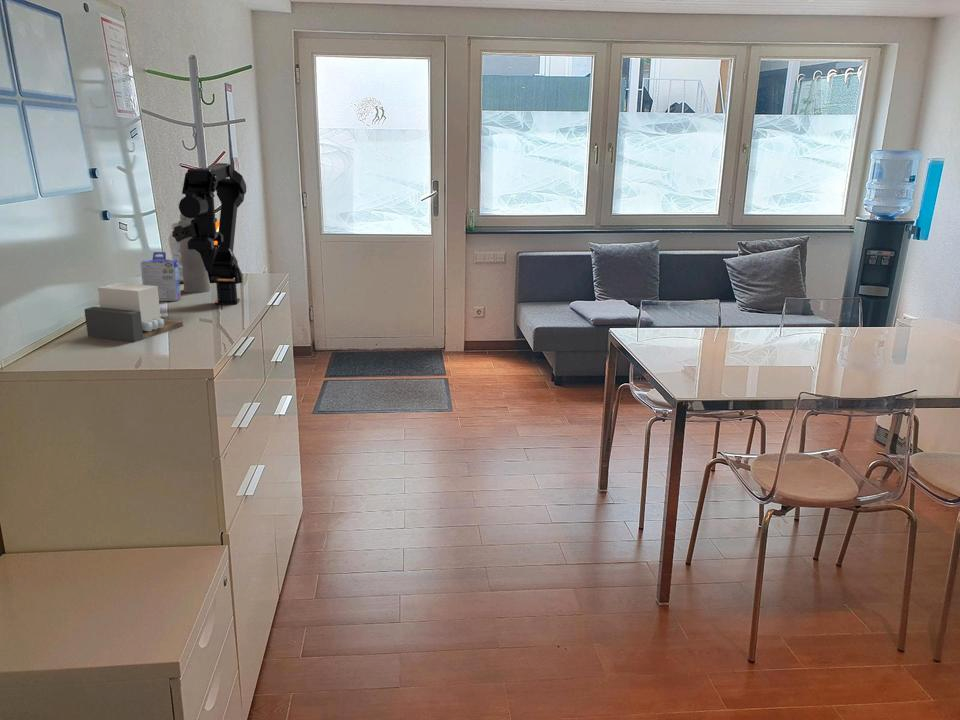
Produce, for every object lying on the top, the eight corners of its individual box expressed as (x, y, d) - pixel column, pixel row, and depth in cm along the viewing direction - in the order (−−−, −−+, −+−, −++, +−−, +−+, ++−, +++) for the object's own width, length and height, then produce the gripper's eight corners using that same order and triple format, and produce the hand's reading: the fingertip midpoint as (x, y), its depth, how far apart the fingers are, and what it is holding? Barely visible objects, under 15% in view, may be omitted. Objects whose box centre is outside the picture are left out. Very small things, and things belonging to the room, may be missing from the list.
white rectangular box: (118, 321, 196) (114, 282, 193) (165, 326, 192) (161, 286, 190) (98, 327, 190) (93, 287, 187) (146, 332, 186) (142, 291, 183)
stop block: (96, 333, 189) (93, 306, 187) (143, 339, 185) (140, 311, 184) (87, 336, 187) (84, 309, 185) (134, 341, 183) (131, 313, 181)
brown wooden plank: (139, 321, 203) (138, 317, 203) (182, 325, 199) (182, 321, 199) (87, 336, 187) (87, 331, 186) (134, 341, 183) (134, 337, 182)
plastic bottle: (180, 284, 255) (175, 225, 249) (168, 282, 258) (162, 223, 253) (196, 282, 260) (191, 223, 255) (184, 279, 263) (179, 222, 258)
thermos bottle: (199, 287, 251) (192, 202, 244) (215, 290, 247) (208, 203, 239) (179, 290, 245) (171, 203, 237) (194, 293, 241) (187, 204, 233)
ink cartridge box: (181, 297, 234) (177, 251, 230) (178, 301, 229) (173, 254, 225) (148, 298, 232) (143, 251, 228) (143, 301, 227) (138, 254, 223)
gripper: (181, 211, 215) (186, 265, 220) (164, 218, 198) (170, 276, 202) (221, 212, 217) (225, 265, 221) (208, 218, 199) (213, 276, 204)
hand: (208, 271), depth 212 cm, fingers closed
